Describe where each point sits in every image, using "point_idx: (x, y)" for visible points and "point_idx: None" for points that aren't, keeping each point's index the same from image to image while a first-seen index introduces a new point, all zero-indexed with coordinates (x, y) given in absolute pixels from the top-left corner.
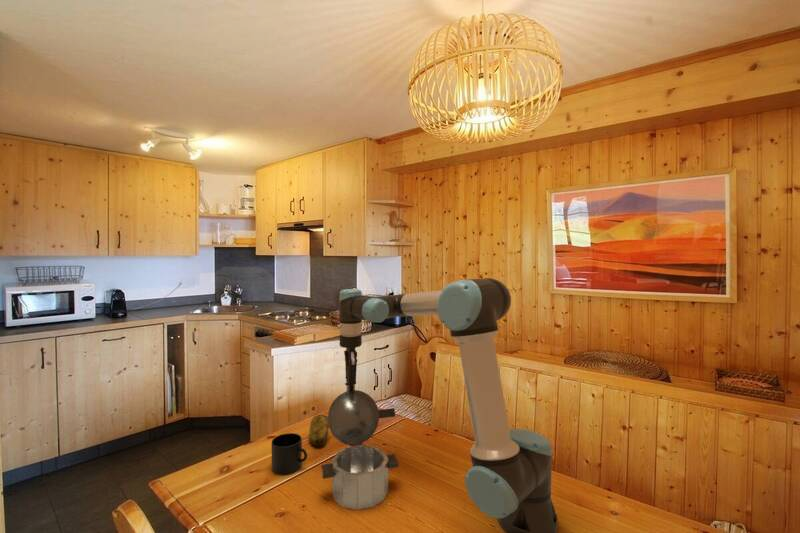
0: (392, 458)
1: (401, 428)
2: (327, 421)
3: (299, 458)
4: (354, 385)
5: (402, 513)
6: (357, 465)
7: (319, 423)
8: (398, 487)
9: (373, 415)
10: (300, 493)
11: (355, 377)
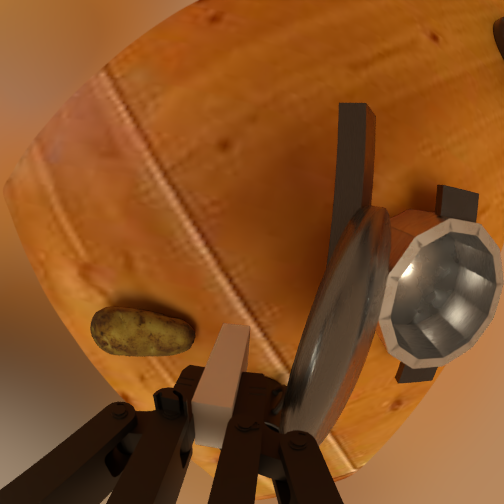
0: (459, 199)
1: (151, 77)
2: (118, 315)
3: (276, 396)
4: (234, 402)
5: (491, 213)
6: None
7: (136, 345)
8: (435, 186)
9: (380, 239)
10: (363, 382)
11: (337, 495)
